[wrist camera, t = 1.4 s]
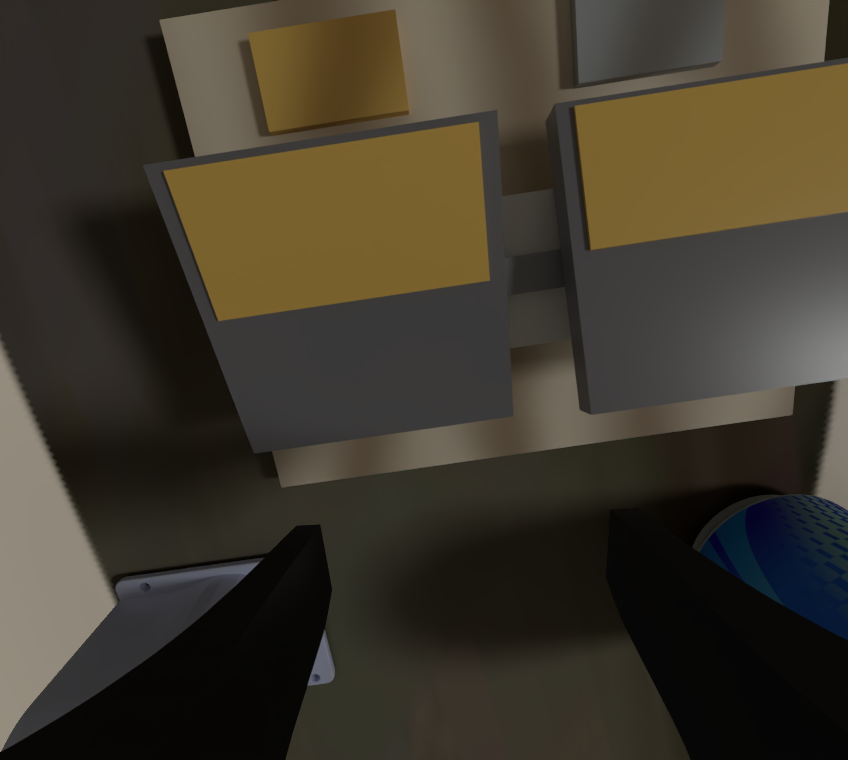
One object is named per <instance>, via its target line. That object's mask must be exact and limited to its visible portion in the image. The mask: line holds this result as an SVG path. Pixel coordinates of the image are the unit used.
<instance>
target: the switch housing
mask: <svg viewBox="0 0 848 760" xmlns="http://www.w3.org/2000/svg"><path fill="white" fill-rule="evenodd" d="M502 208H503V226H504V245H505V264H506V283H507V302H508V321H509V339H510V348H516V347H523V346H530V345H537V344H544V343H550V342H557V341H564V340H571V333H570V325H569V316H568V308H567V299H566V291H565V283H564V274H563V266H562V257H561V249H560V241H559V232H558V224H557V215H556V207H555V199H554V190H553V189H547V190H540V191H534V192H527V193H521V194H514V195H507V196H502Z"/></svg>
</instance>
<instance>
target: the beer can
mask: <svg viewBox="0 0 848 760" xmlns="http://www.w3.org/2000/svg"><path fill="white" fill-rule="evenodd" d="M692 548H694V549H695V550H697V551H698V552H700V553H701V554H703V555H704V556H706V557H707V558H708V559H710V560H711V561H713V562H714V563H716V564H717V565H719V566H720V567H722V568H723V569H725V570H726V571H728V572H730V573H731V574H733V575H734V576H736V577H737V578H739V579H740V580H742V581H744V582H745V583H747V584H749V585H750V586H752V587H753V588H755V589H757V590H758V591H760V592H761V593H763V594H765V595H766V596H768V597H770V598H771V599H773V600H775V601H776V602H778V603H780V604H781V605H783V606H785V607H787V608H788V609H790V610H792V611H794V612H796V613H797V614H799V615H801V616H803V617H805V618H807V619H808V620H810V621H812V622H814V623H816V624H818V625H819V626H821V627H823V628H825V629H827V630H829V631H830V632H832V633H834V634H836V635H838V636H840V637H842V638H844V639H846V640H848V510H846V509H844V508H842V507H841V506H839V505H837V504H835V503H833V502H831V501H829V500H826V499H823V498H820V497H816V496H811V495H801V494H790V495H760V496H755V497H750V498H747V499H744V500H741V501H738V502H736V503H734V504H732V505H730V506H728V507H727V508H725V509H723V510H722V511H720V512H719V513H718V514H717V515H715V516H714V517H713V518H712V519H711V520H710V521H709V522H708V523H707V524H706V525H705V526H704V527H703V529H702V530H701V532H700V533H699V535H698V536H697V538H696V540H695V542H694V544H693V547H692Z"/></svg>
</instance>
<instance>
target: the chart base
mask: <svg viewBox="0 0 848 760" xmlns="http://www.w3.org/2000/svg"><path fill="white" fill-rule="evenodd" d="M828 9H829V0H280V1H274V2H268V3H262V4H255V5H249V6H243V7H237V8H231V9H225V10H218V11H212V12H206V13H200V14H194V15H188V16H181V17H175V18H169V19H163V20H160V24H161V28H162V32H163V36H164V40H165V43H166V47H167V51H168V55H169V59H170V63H171V66H172V70H173V74H174V78H175V82H176V86H177V89H178V93H179V97H180V101H181V105H182V109H183V112H184V116H185V120H186V124H187V128H188V132H189V135H190V139H191V143H192V147H193V151H194V155H195V157H198V156H204V155H211V154H217V153H223V152H230V151H236V150H243V149H249V148H255V147H262V146H268V145H275V144H281V143H287V142H294V141H300V140H307V139H313V138H319V137H326V136H332V135H339V134H345V133H351V132H358V131H364V130H371V129H377V128H383V127H390V126H396V125H403V124H409V123H415V122H422V121H428V120H435V119H441V118H447V117H454V116H460V115H467V114H473V113H479V112H486V111H492V110H497V114H498V132H499V151H500V170H501V189H502V196H507V195H514V194H521V193H527V192H534V191H540V190H547V189H553V182H552V173H551V165H550V157H549V148H548V140H547V131H546V123H545V121H546V119H547V117H548V116H549V114H550V112H551V110H552V108H553V106H554V104H555V103H562V102H568V101H575V100H581V99H587V98H594V97H600V96H607V95H613V94H619V93H626V92H632V91H639V90H645V89H651V88H658V87H664V86H671V85H677V84H683V83H690V82H696V81H703V80H709V79H715V78H722V77H728V76H735V75H741V74H747V73H754V72H760V71H767V70H773V69H779V68H786V67H792V66H799V65H805V64H811V63H818V62H824V54H825V43H826V32H827V21H828ZM510 358H511V377H512V396H513V415H514V416H513V417H506V418H499V419H492V420H485V421H478V422H472V423H465V424H458V425H451V426H444V427H437V428H430V429H423V430H416V431H409V432H402V433H395V434H388V435H381V436H374V437H367V438H360V439H353V440H346V441H340V442H333V443H326V444H319V445H312V446H305V447H298V448H291V449H284V450H277V451H272V453H273V457H274V461H275V465H276V469H277V472H278V476H279V480H280V484H281V488H282V487H289V486H296V485H303V484H310V483H317V482H324V481H331V480H338V479H345V478H352V477H359V476H366V475H373V474H380V473H387V472H394V471H402V470H409V469H416V468H423V467H430V466H437V465H444V464H451V463H458V462H465V461H472V460H479V459H486V458H493V457H500V456H507V455H514V454H521V453H528V452H535V451H542V450H549V449H556V448H563V447H570V446H577V445H584V444H591V443H598V442H605V441H612V440H619V439H626V438H633V437H640V436H647V435H654V434H661V433H668V432H675V431H682V430H689V429H696V428H703V427H710V426H717V425H725V424H732V423H739V422H746V421H753V420H760V419H767V418H774V417H781V416H788V415H792V413H793V402H794V391H795V386H790V387H783V388H776V389H769V390H762V391H755V392H748V393H741V394H734V395H728V396H721V397H714V398H707V399H700V400H693V401H686V402H679V403H672V404H665V405H658V406H651V407H644V408H637V409H630V410H623V411H616V412H609V413H602V414H595V415H590V414H588V413H585V412H583V411H581V410H580V409H579V400H578V392H577V383H576V375H575V367H574V358H573V350H572V341H571V340H564V341H557V342H550V343H544V344H537V345H530V346H523V347H516V348H510Z"/></svg>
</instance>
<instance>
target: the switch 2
mask: <svg viewBox="0 0 848 760" xmlns="http://www.w3.org/2000/svg"><path fill="white" fill-rule="evenodd" d="M545 123H546V131H547V140H548V148H549V157H550V165H551V173H552V182H553V190H554V199H555V207H556V215H557V224H558V232H559V241H560V249H561V257H562V266H563V274H564V283H565V291H566V299H567V308H568V316H569V325H570V333H571V341H572V350H573V358H574V367H575V375H576V383H577V392H578V400H579V409H580V410H581V411H583V412H585V413H588V414H590V415H595V414H602V413H609V412H616V411H623V410H630V409H637V408H644V407H651V406H658V405H665V404H672V403H679V402H686V401H693V400H700V399H707V398H714V397H721V396H728V395H734V394H741V393H748V392H755V391H762V390H769V389H776V388H783V387H790V386H797V385H804V384H811V383H818V382H825V381H832V380H839V379H846V378H848V58H843V59H837V60H831V61H824V62H818V63H811V64H805V65H799V66H792V67H786V68H779V69H773V70H767V71H760V72H754V73H747V74H741V75H735V76H728V77H722V78H715V79H709V80H703V81H696V82H690V83H683V84H677V85H671V86H664V87H658V88H651V89H645V90H639V91H632V92H626V93H619V94H613V95H607V96H600V97H594V98H587V99H581V100H575V101H568V102H562V103H555V104H554V106H553V108H552V110H551V112H550V114H549V116H548V117H547V119H546V121H545Z"/></svg>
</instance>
